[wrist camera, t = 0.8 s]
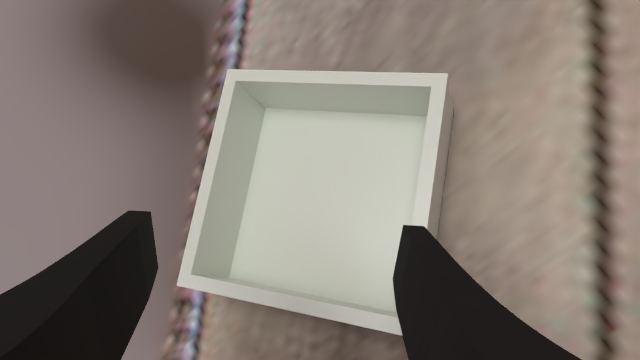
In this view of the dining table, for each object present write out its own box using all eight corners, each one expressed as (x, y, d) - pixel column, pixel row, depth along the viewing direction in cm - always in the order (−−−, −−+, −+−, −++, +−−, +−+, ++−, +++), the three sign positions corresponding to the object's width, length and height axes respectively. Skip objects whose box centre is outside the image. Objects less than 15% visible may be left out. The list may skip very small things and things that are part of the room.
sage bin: (425, 331, 24) (412, 337, 20) (225, 288, 29) (176, 285, 24) (453, 112, 27) (448, 73, 22) (265, 103, 31) (227, 69, 27)
